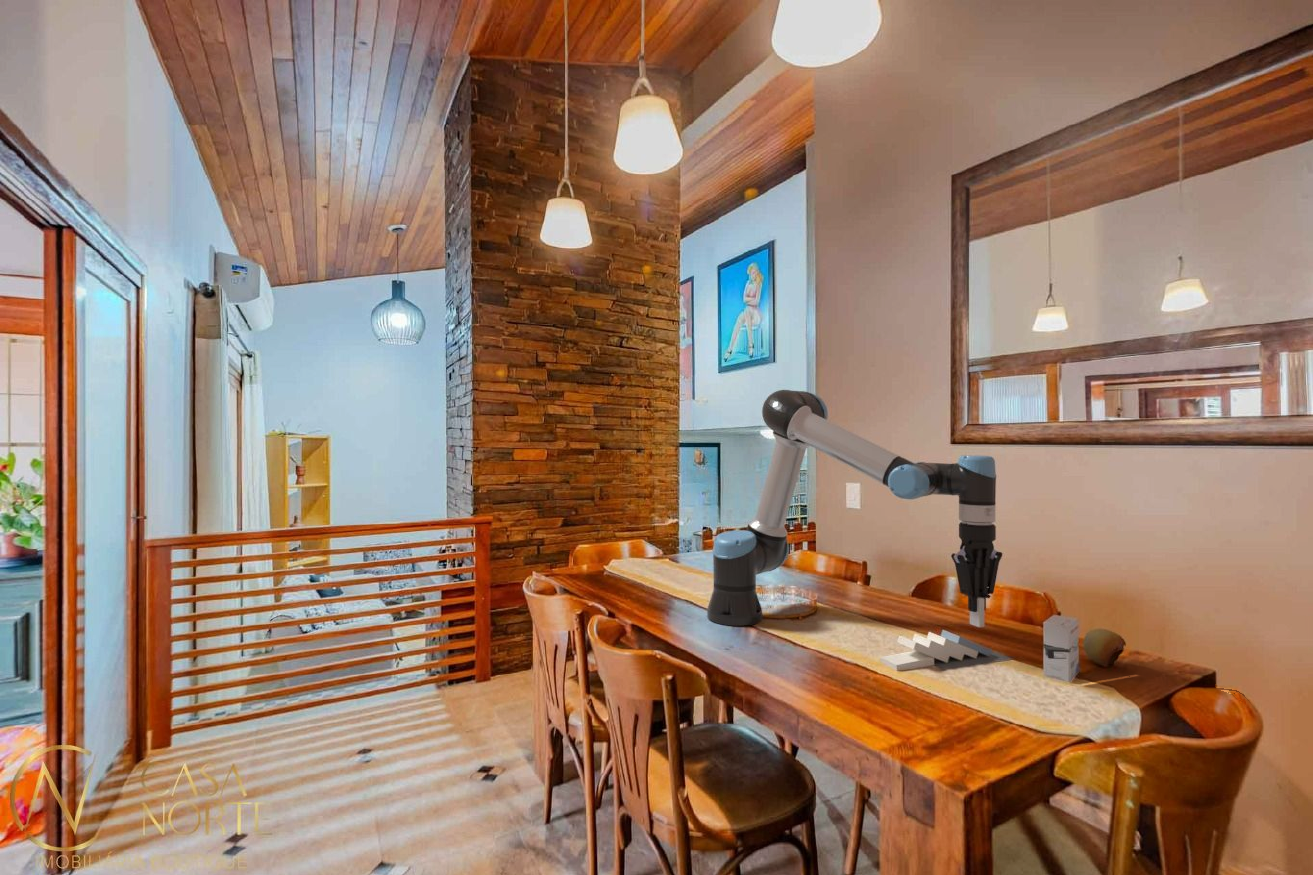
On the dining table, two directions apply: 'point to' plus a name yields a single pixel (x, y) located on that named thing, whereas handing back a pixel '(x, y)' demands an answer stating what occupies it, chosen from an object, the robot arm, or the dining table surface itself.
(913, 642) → the domino
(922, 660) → the domino
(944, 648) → the domino
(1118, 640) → the fruit
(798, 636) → the dining table surface
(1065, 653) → the ink box
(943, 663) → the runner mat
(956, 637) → the domino
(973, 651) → the domino
